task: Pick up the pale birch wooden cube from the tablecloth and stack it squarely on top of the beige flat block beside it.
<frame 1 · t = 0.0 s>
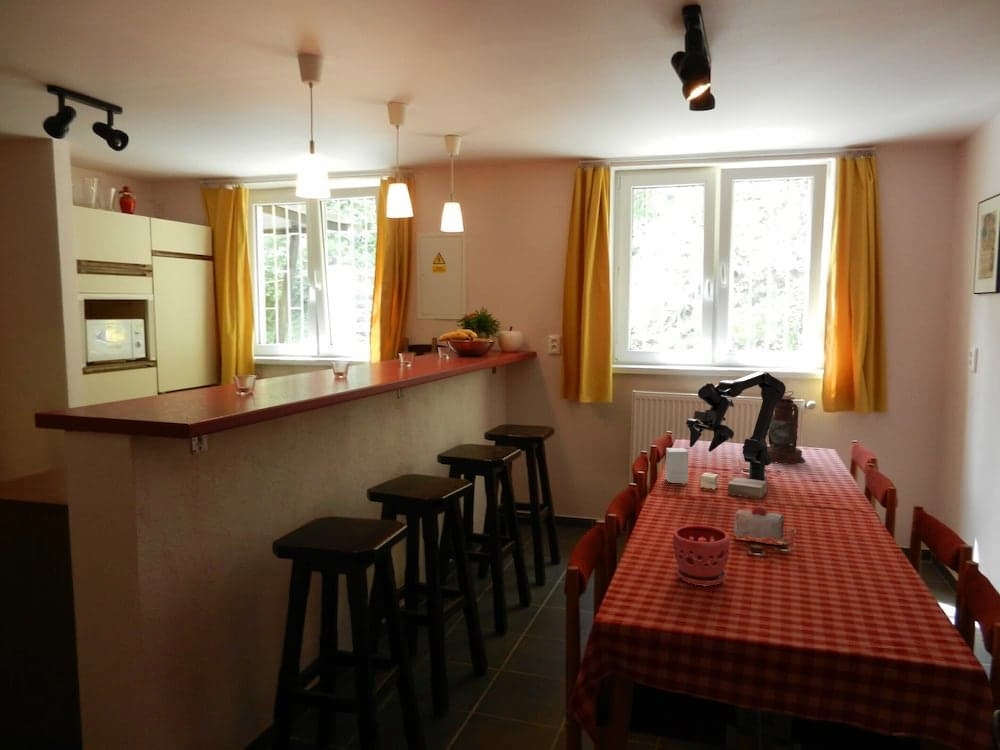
hand: (699, 449, 251), 15 cm above the table, tool tilted 35°, fingers open, 9 cm apart
lantern: (781, 459, 302), on the table
plant pot: (699, 580, 168), on the table
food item: (758, 541, 197), on the table
birch cube: (709, 488, 254), on the table
beige flat block: (747, 493, 247), on the table
supplement box: (676, 482, 262), on the table
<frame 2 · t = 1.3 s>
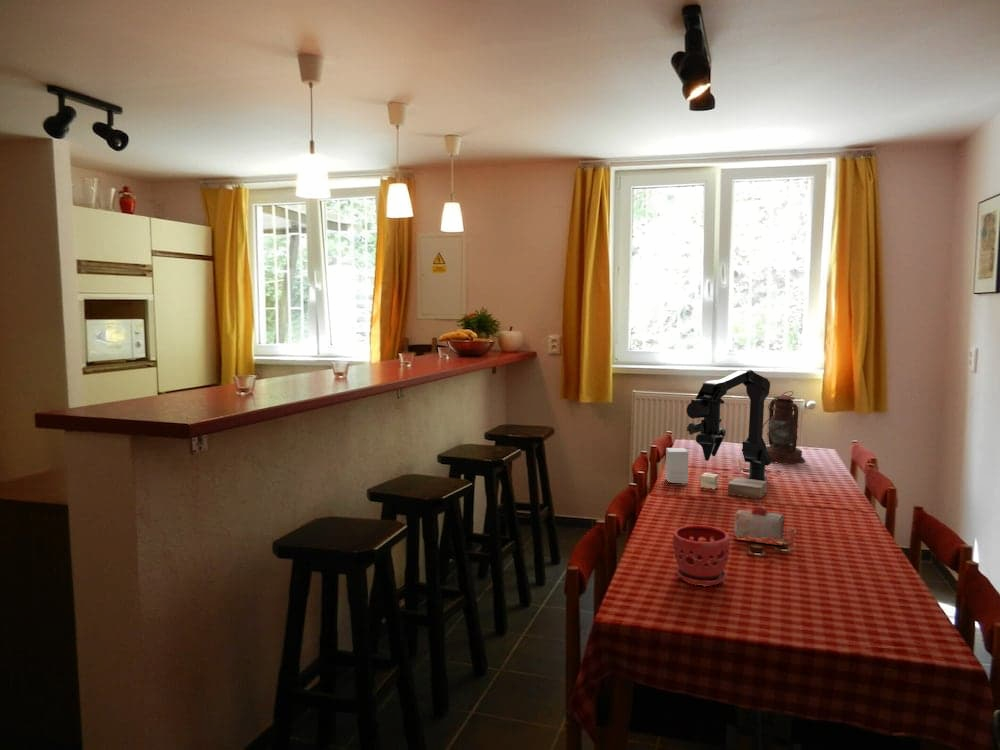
hand: (710, 458, 253), 11 cm above the table, tool pointing down, fingers open, 9 cm apart
nothing on the table moved.
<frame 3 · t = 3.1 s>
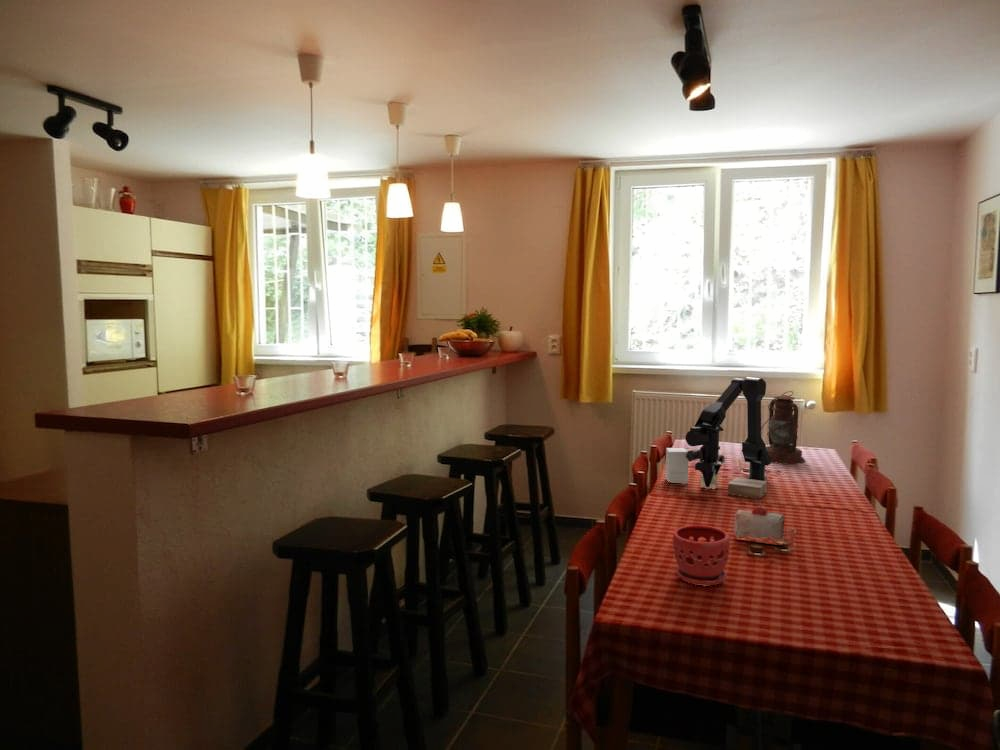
hand: (709, 485, 254), 1 cm above the table, tool pointing down, fingers closed on birch cube, 5 cm apart
birch cube: (709, 488, 254), on the table, touching gripper
everything else where it was.
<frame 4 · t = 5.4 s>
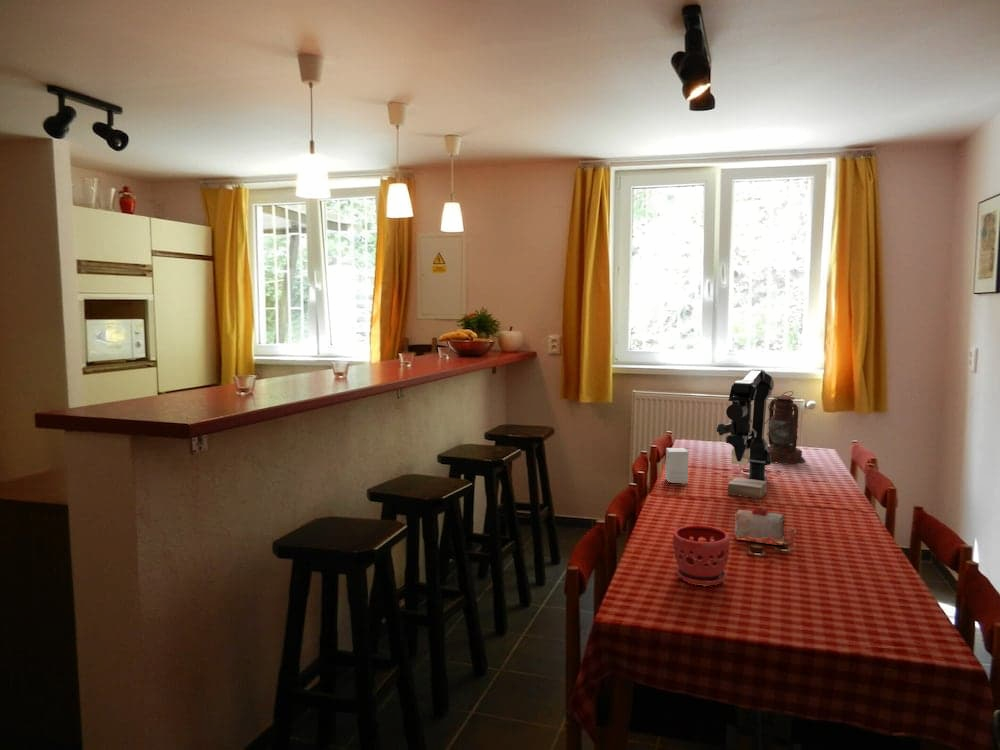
hand: (740, 459, 247), 12 cm above the table, tool pointing down, fingers closed on birch cube, 5 cm apart
birch cube: (740, 462, 247), point 11 cm above the table, touching gripper
everything else where it was.
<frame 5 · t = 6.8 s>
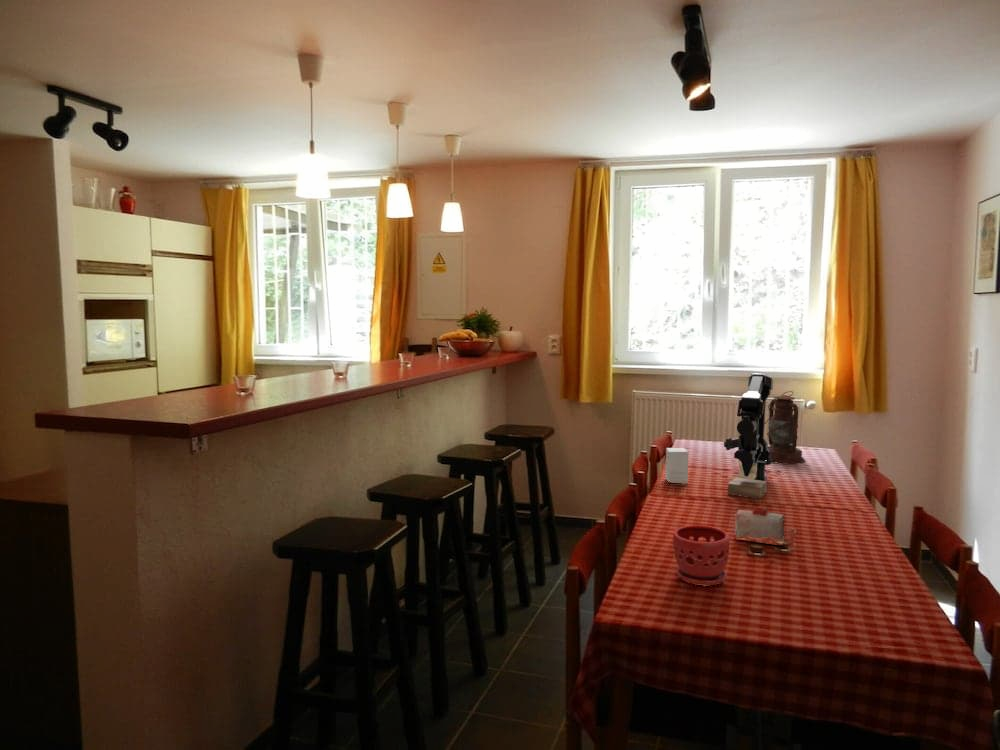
hand: (747, 474, 246), 7 cm above the table, tool pointing down, fingers closed on birch cube, 5 cm apart
birch cube: (747, 477, 246), point 6 cm above the table, touching gripper
everything else where it was.
when the fingers open (6 cm above the table, at t = 7.7 s): birch cube drops 1 cm, resting on beige flat block.
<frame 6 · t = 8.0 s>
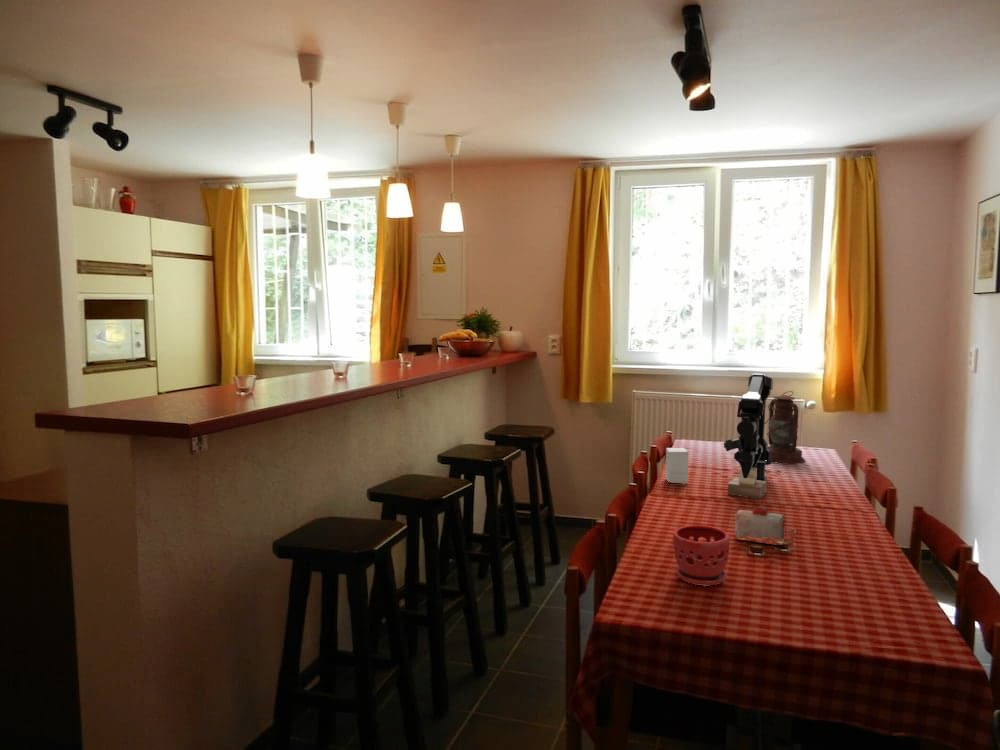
hand: (747, 475, 246), 6 cm above the table, tool pointing down, fingers open, 8 cm apart
birch cube: (747, 482, 246), point 4 cm above the table, touching beige flat block
everything else where it was.
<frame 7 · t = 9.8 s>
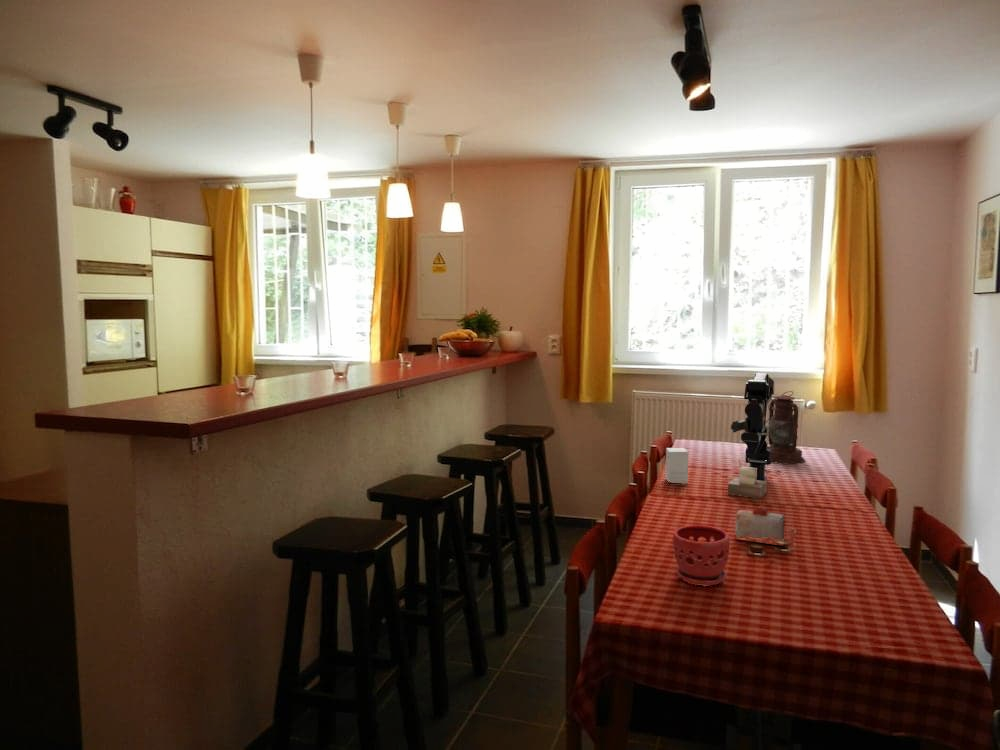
hand: (754, 455, 254), 12 cm above the table, tool pointing down, fingers open, 9 cm apart
nothing on the table moved.
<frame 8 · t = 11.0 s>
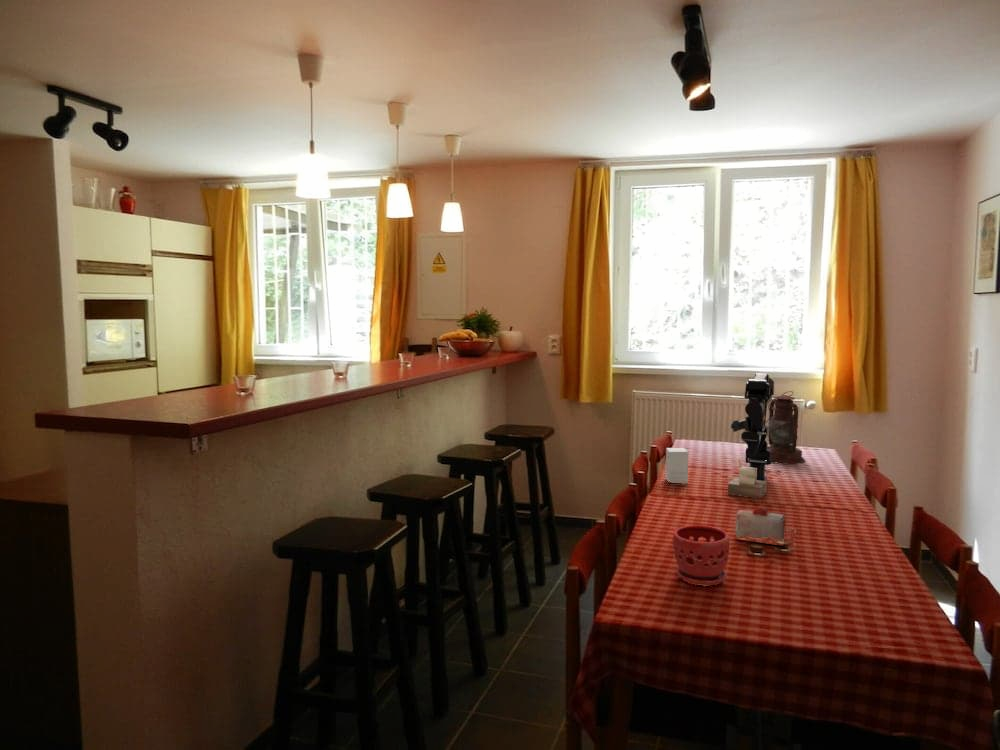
hand: (754, 455, 254), 12 cm above the table, tool pointing down, fingers open, 9 cm apart
nothing on the table moved.
at the end: birch cube 0.0 cm off-centre on the beige flat block, point 4.0 cm above the beige flat block's base; birch cube tilted 0°; the gripper is holding nothing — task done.
